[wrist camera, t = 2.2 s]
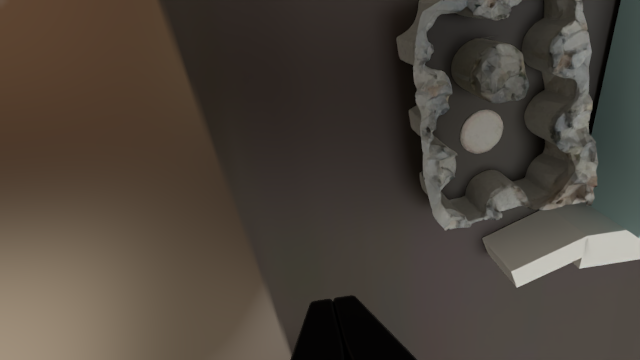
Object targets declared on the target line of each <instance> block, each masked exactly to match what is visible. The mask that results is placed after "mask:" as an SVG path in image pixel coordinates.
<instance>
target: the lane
mask: <svg viewBox="0 0 640 360" xmlns="http://www.w3.org/2000/svg"><path fill="white" fill-rule="evenodd" d="M482 240H483V243H484V245H485V248H486V250H487V253H488V254H489V255H490V257H491V258H492V259H493V260H494V261H495V262H496V264H497V265H498V266H499V267H500V268H501V270H502V271H503V272H504V273H505V274H506V276H507V277H508V278H509V279H510V280H511V281H512V283H513V284H514V285H515V286H516V287H519V286H522V285H524V284H526V283H528V282H530V281H532V280H534V279H537V278H539V277H541V276H543V275H545V274H547V273H550V272H552V271H554V270H556V269H558V268H560V267H562V266H565V265H567V264H569V263H571V262H572V263H573V264H575V265H576V266H577V267H578V268H579V269H580V268H586V267H593V266H599V265H605V264H612V263H618V262H624V261H631V260H637V259H640V238H638V237H636V236H635V235H633V234H632V233H630V232H629V231H627V230H626V229H624V228H623V227H621V226H620V225H618V224H617V223H615V222H614V221H612V220H611V219H609V218H608V217H606V216H605V215H603V214H602V213H600V212H599V211H597V210H596V209H594V208H593V207H591V206H586V203H585V202H583V203H577V204H572V205H564V206H562V207H559V208H555V209H551V210H539V211H537V212H535V213H533V214H531V215H529V216H527V217H525V218H523V219H521V220H519V221H517V222H514V223H512V224H510V225H508V226H506V227H504V228H502V229H500V230H498V231H496V232H494V233H492V234H490V235H487V236H485V237H483V238H482Z"/></svg>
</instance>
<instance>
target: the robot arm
mask: <svg viewBox="0 0 640 360" xmlns="http://www.w3.org/2000/svg"><path fill="white" fill-rule="evenodd" d="M291 360H417V359H416V358H415V357H414V356H413V355H412V354H411V353H410V352H409V351H408V350H407V349H406V348H405V347H404V346H403V345H402V344H401V343H400V342H399V341H398V340H397V339H396V338H395V337H394V336H393V334H392V333H391V332H390V331H389V330H388V329H387V328H386V327H385V326H384V325H383V324H382V323H381V322H380V321H379V320H378V319H377V318H376V317H375V316H374V315H373V314H372V313H371V312H370V311H369V310H368V309H367V308H366V307H365V306H364V305H363V304H362V303H361V302H360V301H359V300H358V299H357V298H356V297H355V296H353V295H350V296H344V297H337V298H335V299H334V300H333V301H332V300H331V299H324V300H318V301H313V302H311V303H310V305H309V308H308V311H307V314H306V316H305V319H304V322H303V325H302V328H301V331H300V334H299V336H298V339H297V342H296V345H295V348H294V351H293V354H292V357H291Z"/></svg>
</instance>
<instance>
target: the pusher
mask: <svg viewBox="0 0 640 360" xmlns="http://www.w3.org/2000/svg"><path fill="white" fill-rule="evenodd" d="M591 136H592V137H593V139H594V140H595V142H596V150H597V159H598V165H597V168H596V174H597V177H598V179H597V187H594V188H593V192H594V197H595V199H594V200H593V203H592V206H591V207H593V208H594V209H596V210H597V211H599V212H600V213H602V214H603V215H605V216H606V217H608V218H609V219H611V220H612V221H614V222H615V223H617V224H618V225H620V226H621V227H623V228H624V229H626V230H627V231H629V232H630V233H632V234H633V235H635V236H636V237H638V238H640V0H621V2H620V7H619V11H618V16H617V20H616V25H615V29H614V34H613V38H612V43H611V48H610V52H609V57H608V61H607V66H606V70H605V75H604V79H603V84H602V88H601V93H600V98H599V102H598V107H597V111H596V116H595V120H594V125H593V129H592V134H591ZM585 203H586V202H585Z"/></svg>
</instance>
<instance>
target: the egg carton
mask: <svg viewBox="0 0 640 360" xmlns="http://www.w3.org/2000/svg"><path fill="white" fill-rule="evenodd" d="M521 1H522V0H420V1H419V3H418V12H417V16H416V18H415V21H414V23H413V25H412V26H411V27H410V28H409V29H408V30H407V31H406V32H404V33H403V34H402V35H400V36H398V37H397V39H396V41H397V48H398V53H399V57H400V59H401V60H403V61H404V62H406V63H409V64H411V65H413V77H414V84H415V86H416V88H417V92H416V93H415V100H416V104H417V105H416V106H415V107H413V108H411V109H410V110H409V118H410V124H411V128H412V129H413V130H414V131H415V132H416V133H417V134H418V135H420V136H421V143H422V153H423V171H421V172H420V182H421V187H422V189H423V190H424V192H425V193H426V194H427V195H428V197H429V201H430V205H431V209H432V213H433V216H434V218H435V219H436V221H437V222H438V223H439V224H440V225H441V226H442V227H443V228H444V230H449V229H453V228H463V227H470V226H471V224H472V223H474V222H477V221H481V220H487V219H492V220H498V219H501V218H502V213H501V212H500V211H504V210H508V209H511V208H514V207H517V206H525V207H526V208H529V209H534V210H551V209H555V208H559V207H562V206H564V205H572V204H577V203H583V202H586V206H592V203H593V200H594V199H595V197H594V192H593V188H594V187H597V179H598V177H597V174H596V168H597V165H598V159H597V150H596V142H595V140H594V139H593V137H592V136H591V135H590V134H589V121H590V114H591V111H592V106H593V101H592V99H591V97H590V95H589V63H590V58H591V53H592V50H591V45H590V40H589V33H588V28H587V23H586V19H585V17H584V14H583V2H582V0H544V8H545V9H544V18H543V19H541V20H539V21H538V22H536V23H535V24H534V25H533V26H532V27H531V28H530V29H529V30H528V32H527V33H526V35H525V36H524V39H523V43H522V48H521V51H522V53H521V52H520V51H519V50H518V49H517V48H515V47H514V46H512V45H510V44H508V43H503V42H498V41H493V40H488V39H483V38H480V39H478V38H477V39H473V40H470V41H468V42H467V43H465V44H464V45H463V46H462V47H461V48H460V49H459V50H458V51H457V53H456V54H455V56H454V58H453V60H452V64H451V74H452V77H453V79H454V81H455V82H456V83H457V84H458V85H459V86H460V87H461V88H463V89H464V90H466V91H468V92H470V93H472V94H474V95H476V96H478V97H480V98H482V99H485V100H487V101H489V102H491V103H504V102H508V101H518V100H520V99H523V98H524V97H525V96H526V94H527V91H528V88H529V81H528V78H527V75H526V71H525V65H524V61H525V63H526V64H527V65H528V66H529V67H532V68H534V69H537V70H539V71H542V76H543V81H544V86H545V90H544V91H542V92H540V93H538V94H537V95H536V96H535V97H533V99H532V100H531V101H530V103H529V104H528V106H527V108H526V110H525V114H524V121H525V124H526V126H527V128H528V129H529V130H530V131H531V132H532V133H533V134H535V135H537V136H539V137H541V138H543V139H545V149H544V151H543V153H542V154H541V155H539V156H537V157H536V158H535V159H534V160H533V161H532V162H531V164H530V165H529V167H528V169H527V172H526V175H525V178H523V179H521V180H516V181H513V182H512V181H511V180H510V179H508V178H507V177H506V176H504V175H503V174H502V173H501V172H499V171H496V170H487V171H483V172H481V173H479V174H478V175H476V176H475V177H473V178H472V179H471V181H470V182H469V184H468V185H467V188H466V192H465V196H463V197H461V198H455V199H451V200H448V199H447V198H446V197H445V195H444V194H443V193H442V192H441V190H442V189H443V187H444V186H445V185H446V184H447V183H449V181H450V180H451V179H453V178H455V170H456V160H455V156H456V155H458V154H457V153H456V152H455V151H453V150H451V149H450V148H449V147H447V146H446V145H445V144H444V143H442V142H441V141H440V140H439V139H438V138H436V137H435V136H434V135H433V134H432V132H433V131H434V130H436V120H437V119H438V117H439V116H440V115H443V114H445V113H446V112H447V111H448V110H449V109H450V107H449V104H448V98H449V95H451V94H452V86H451V82H450V80H449V78H448V76H447V75H446V73H445V72H443V71H441V70H436V69H432V68H430V67H428V66H425V62H427V61H429V60H430V57H431V54H432V53H433V52H434V47H433V45H432V44H431V43H430V42H428V39H427V32H428V30H429V29H430V28H431V27H432V26H433V24H434V22H435V20H436V19H437V17H438V16H439V15H441V14H449V13H456V14H458V15H460V16H465V17H471V18H481V19H492V20H496V21H497V20H500V19H504V18H507V17H509V14H510V12H511V7H513V6H514V5H518V4H519V3H520V2H521ZM497 36H498V35H497ZM491 37H493V36H491ZM486 38H488V37H486ZM427 127H429V129H430V130H431V133H430V132H428V131H427V129H426V128H427ZM502 131H503V121H502V120H501V117H500V116H499V115H498V114H497V113H496V112H494V111H492V110H479V111H477V112H475V113H473V114H472V115H471V116H470V117H468V118H467V119H466V121H465V122H464V124H463V126H462V128H461V131H460V142H461V144H462V146H463V147H464V149H466V150H467V151H469V152H471V153H475V154H479V153H483V152H486V151H489V150H490V149H491V148H492V147H493V146H494V145H496V144H497V143H498V141H499V140H500V138H501V136H502Z"/></svg>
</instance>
